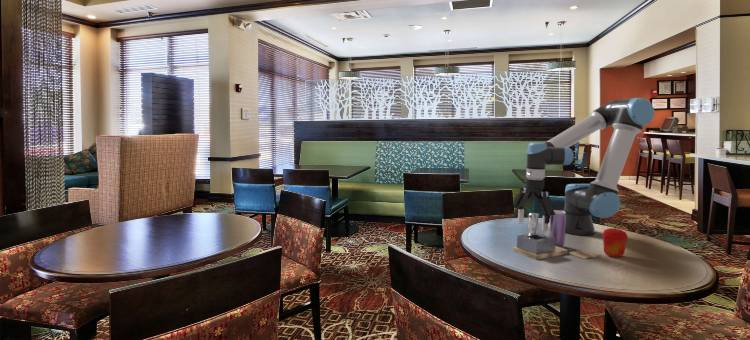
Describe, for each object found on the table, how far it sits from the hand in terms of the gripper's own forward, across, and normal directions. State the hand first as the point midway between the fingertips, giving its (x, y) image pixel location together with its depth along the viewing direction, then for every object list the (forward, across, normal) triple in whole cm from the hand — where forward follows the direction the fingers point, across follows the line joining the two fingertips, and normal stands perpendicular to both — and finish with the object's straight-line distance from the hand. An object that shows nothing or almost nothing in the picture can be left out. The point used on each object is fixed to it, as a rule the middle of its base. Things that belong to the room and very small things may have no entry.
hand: (532, 227), depth 179 cm
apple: (+7, +28, +15) cm, 32 cm away
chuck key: (+7, 0, +1) cm, 7 cm away
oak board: (+7, +12, -8) cm, 16 cm away
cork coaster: (+7, +22, +5) cm, 23 cm away
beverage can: (+7, +10, +4) cm, 12 cm away
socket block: (+5, +12, -10) cm, 17 cm away
